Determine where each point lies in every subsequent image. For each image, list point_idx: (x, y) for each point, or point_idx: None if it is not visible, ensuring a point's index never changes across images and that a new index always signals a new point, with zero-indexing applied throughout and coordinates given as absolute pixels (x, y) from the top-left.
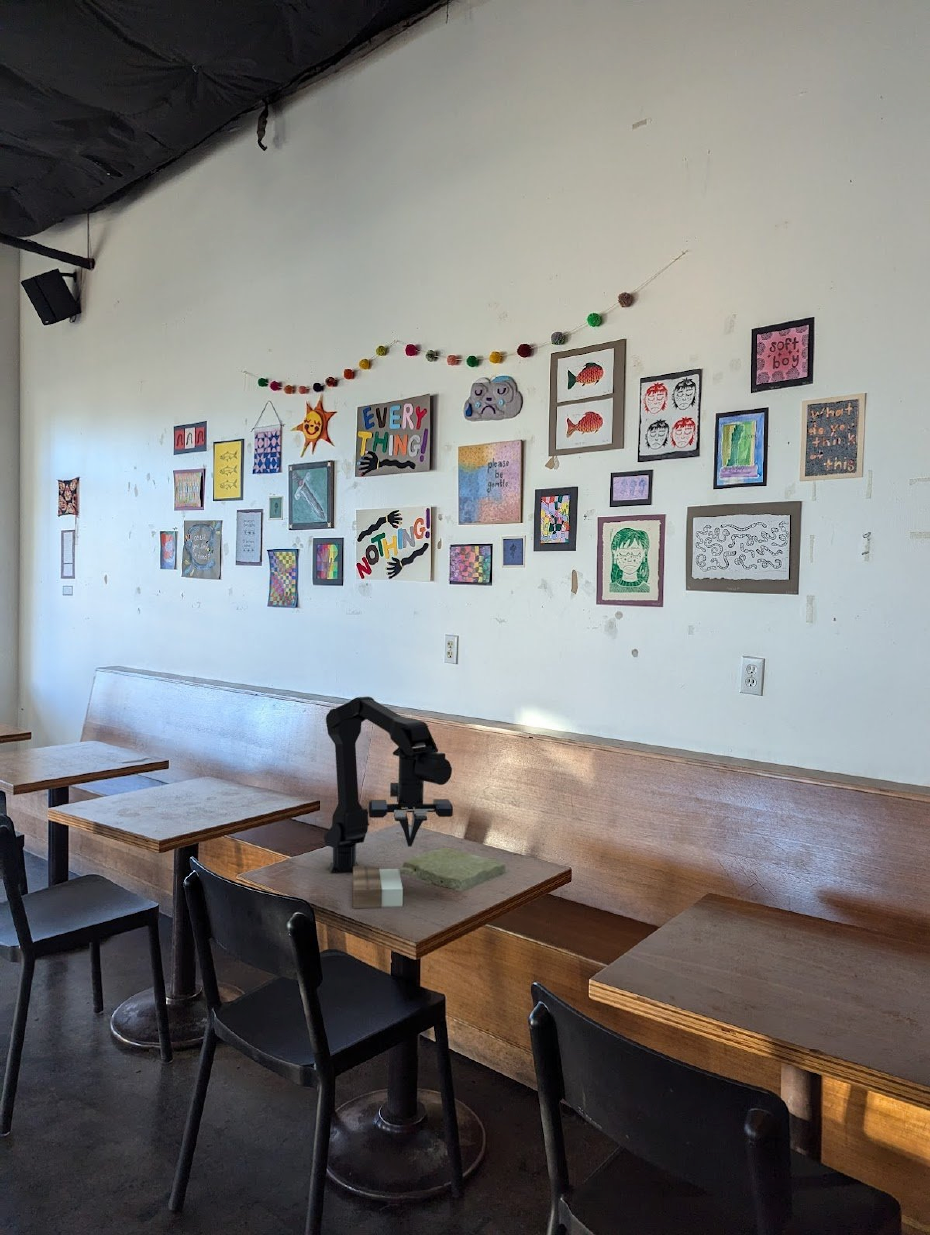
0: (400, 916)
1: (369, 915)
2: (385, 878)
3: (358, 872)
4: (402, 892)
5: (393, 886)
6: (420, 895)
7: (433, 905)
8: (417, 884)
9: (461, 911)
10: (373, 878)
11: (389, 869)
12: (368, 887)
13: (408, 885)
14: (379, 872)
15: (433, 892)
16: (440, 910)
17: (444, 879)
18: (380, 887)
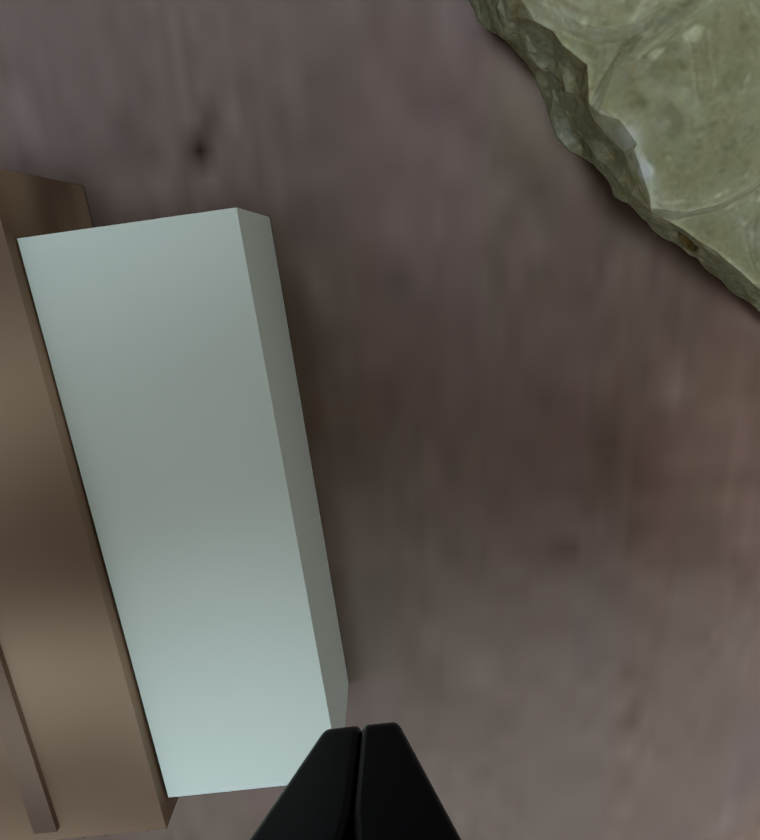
0: None
1: (155, 830)
2: (146, 538)
3: None
4: None
5: (253, 727)
6: (474, 475)
7: (567, 663)
8: (446, 201)
9: (750, 751)
10: (32, 591)
11: (136, 242)
12: (46, 821)
13: (365, 234)
14: (49, 408)
15: (583, 402)
16: (609, 742)
17: (726, 270)
18: (147, 799)
